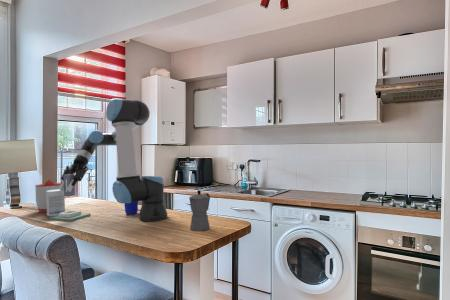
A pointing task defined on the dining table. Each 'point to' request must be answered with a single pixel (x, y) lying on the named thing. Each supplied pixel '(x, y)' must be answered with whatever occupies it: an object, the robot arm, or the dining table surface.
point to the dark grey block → (67, 181)
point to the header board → (69, 216)
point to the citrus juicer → (44, 194)
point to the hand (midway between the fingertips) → (64, 190)
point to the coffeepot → (199, 212)
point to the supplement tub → (55, 202)
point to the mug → (131, 207)
